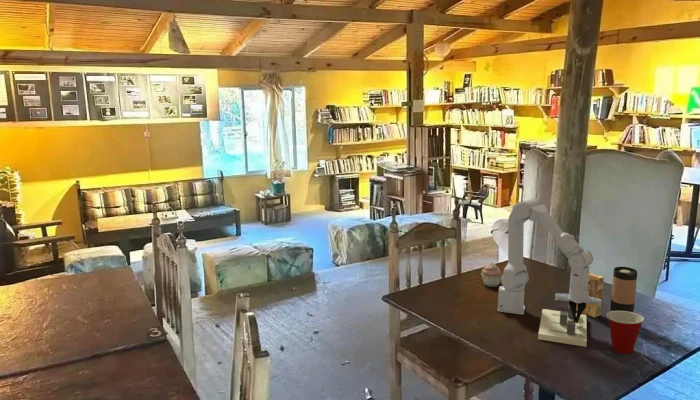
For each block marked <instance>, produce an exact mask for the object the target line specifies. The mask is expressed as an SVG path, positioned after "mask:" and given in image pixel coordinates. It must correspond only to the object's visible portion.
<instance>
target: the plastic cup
mask: <svg viewBox="0 0 700 400" xmlns="http://www.w3.org/2000/svg"><path fill="white" fill-rule="evenodd" d="M605 315H606V318H607V321H608V324H609V333H610V339H611V348H612V350H613V351H614V352H616V353H618V354H622V355H630V354H632V353H633V351H634V348H635V345H636V343H637V338H638V336H639V333H640V329H641V326H642V323H643V322H644V321H645V317H644V316H642V315H641V314H639V313H636V312H634V311H633V312H627V311H611V312H610V311H608V312H606V314H605Z"/></svg>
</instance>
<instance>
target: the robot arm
mask: <svg viewBox="0 0 700 400" xmlns="http://www.w3.org/2000/svg"><path fill="white" fill-rule="evenodd" d="M527 221H532V222H538V223H540V224H541V226H543V227H544V228H545V230H547V231H548V232H549V233H550V235H551V236H553V237H554V238H555V240H554V241H555V245H556V246H557V247H558V249H559V250H560V251H561V252H562V253H563V254H564V255H565V257H567V261H568V262H567V263H568V264H569V266H570V278H569V291H568V293H558V292H557V293H555V295H554V296H555V297H554V300H555V301H563V302H568V305H569V306H570V309H571V311H572V314H573V318H574V321H575V323H578V321H579V318H580V316H581V314H583V313H582V312H583V311H584V309H585V308H586V304H593V305H597V306H601V299H598V298H593V297H589V296H587V291H588V279H589V273H590V265H592V264H593V263H594V256H593V254H592V252H591V251H590V250H589V249H587V248H586V249H585V248H584V247H583V246H581V245H580V244H579V243H578V242H577V240H576V239H575V236H574V235H573V234H570V233H569V232H565V231H563V230H562V228H561V227H560V226H559V224H558V222H556V221H555V219H554V218H553V217H552V215H551V214H550V213H549V212H548V210H547V206H546V205H545V204H543V202H542V201H541V200H540V199H539V198H535V197H534V198H533V197H532V198H530V199H527V200H523V201H518V202H517V203H515V204H514V205H513V206H512V211H511V212H510V213H509V216H508V221H507V222H508V223H507V224H508V227H507V231H508V232H507V235H508V236H507V240H508V241H507V244H508V245H507V264H506V266H505V268H504V269H503V272H502V273H503V275H502V277H501V279H500V282H501V284H502V285H499V286H498V287H499V288H498V296H497V312H500V313H501V312H502V313H506V314H507V313H508V314H516V315H522V316H523V315H524V314H525V309H526V306H525V305H524V303H525V287H526V284H528V282H529V278H530V277H529V273H528V271H527V268H528V267H527V266H526V264H524V231H525V230H524V224H525V223H526V222H527ZM577 303H578V308H577ZM576 309H577V311H576ZM576 314H577V316H576Z"/></svg>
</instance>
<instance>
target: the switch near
mask: <svg viewBox="0 0 700 400" xmlns="http://www.w3.org/2000/svg"><path fill="white" fill-rule="evenodd" d="M567 334H572V335H575V321H570V320H568V323H567Z"/></svg>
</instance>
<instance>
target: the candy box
mask: <svg viewBox="0 0 700 400" xmlns="http://www.w3.org/2000/svg"><path fill="white" fill-rule="evenodd" d="M604 279H605V277H604V276H602V275H599V274H596V273H592V272H589V279H588V291H587V296H589V297H593V298H598V299H601V306H597V305H593V304H586V308H585V309H584V311H583V312H582V314H584V315H586V316H589V317H592V318H597V317H599V316H601V315H602V306H603V305H602V304H603V293H604V292H603V291H604ZM577 308H578V303H577ZM576 312H577V309H576Z"/></svg>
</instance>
